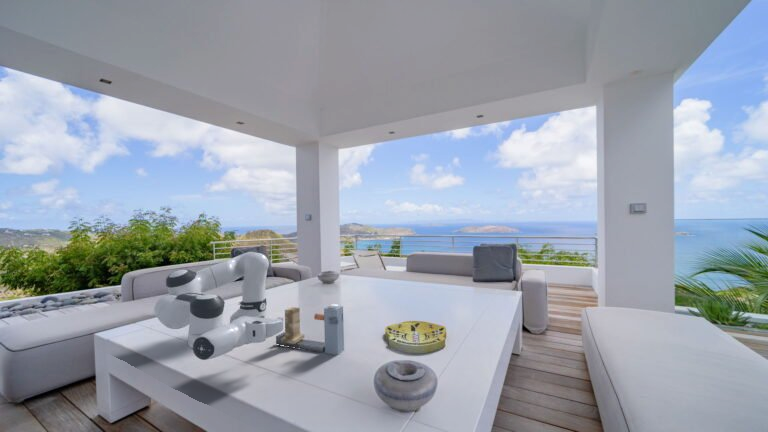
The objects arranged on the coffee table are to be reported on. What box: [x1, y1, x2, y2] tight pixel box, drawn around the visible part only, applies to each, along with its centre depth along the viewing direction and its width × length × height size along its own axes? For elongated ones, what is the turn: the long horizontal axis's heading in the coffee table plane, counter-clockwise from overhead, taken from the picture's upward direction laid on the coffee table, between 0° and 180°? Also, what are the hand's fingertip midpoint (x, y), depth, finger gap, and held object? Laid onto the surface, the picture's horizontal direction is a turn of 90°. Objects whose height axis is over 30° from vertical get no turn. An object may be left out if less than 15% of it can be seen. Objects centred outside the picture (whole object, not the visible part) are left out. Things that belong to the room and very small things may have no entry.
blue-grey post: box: [323, 303, 345, 356], centre depth 120 cm, size 6×5×19 cm
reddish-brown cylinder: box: [313, 313, 324, 321], centre depth 123 cm, size 6×2×2 cm, turn 68°
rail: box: [275, 331, 325, 354], centre depth 126 cm, size 24×5×4 cm, turn 69°
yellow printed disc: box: [385, 320, 447, 354], centre depth 131 cm, size 28×3×30 cm
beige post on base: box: [281, 306, 305, 344], centre depth 128 cm, size 7×7×14 cm
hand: (272, 318), depth 117 cm, fingers open, 8 cm apart
